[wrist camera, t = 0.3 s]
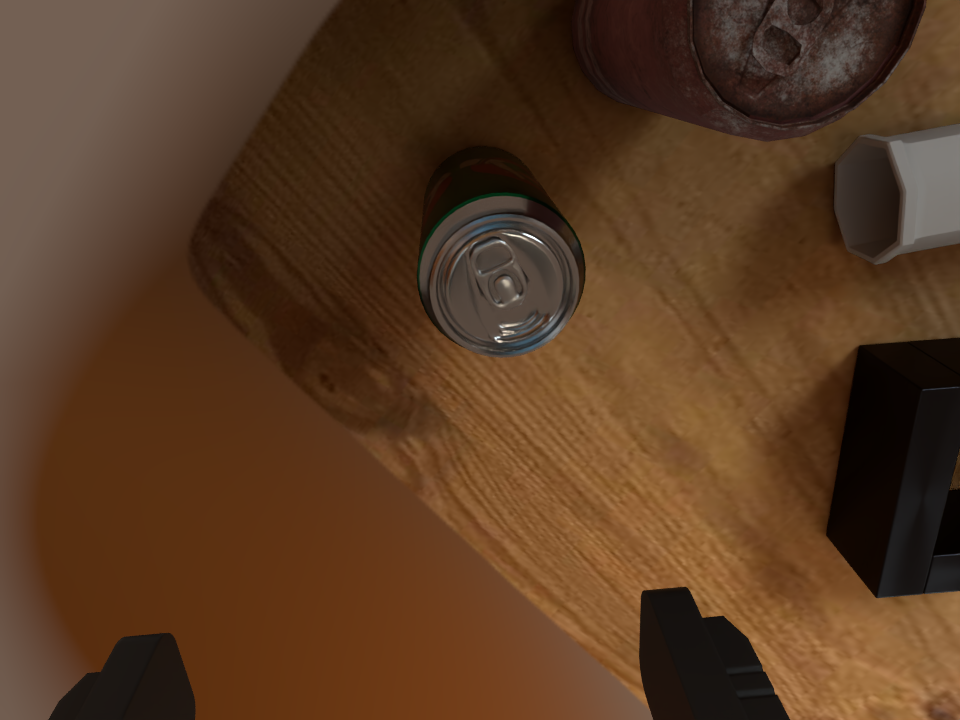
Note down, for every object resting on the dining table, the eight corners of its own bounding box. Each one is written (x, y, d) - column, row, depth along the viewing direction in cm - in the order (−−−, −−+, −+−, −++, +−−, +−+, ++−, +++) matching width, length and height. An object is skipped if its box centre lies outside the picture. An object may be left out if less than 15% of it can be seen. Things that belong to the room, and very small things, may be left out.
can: (720, -81, 27) (971, -198, 14) (717, 94, 30) (927, 127, 17) (563, -61, 27) (675, -160, 14) (574, 112, 30) (676, 160, 17)
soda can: (454, 277, 32) (462, 395, 21) (404, 175, 30) (384, 247, 19) (556, 231, 32) (618, 328, 21) (511, 124, 30) (554, 168, 19)
